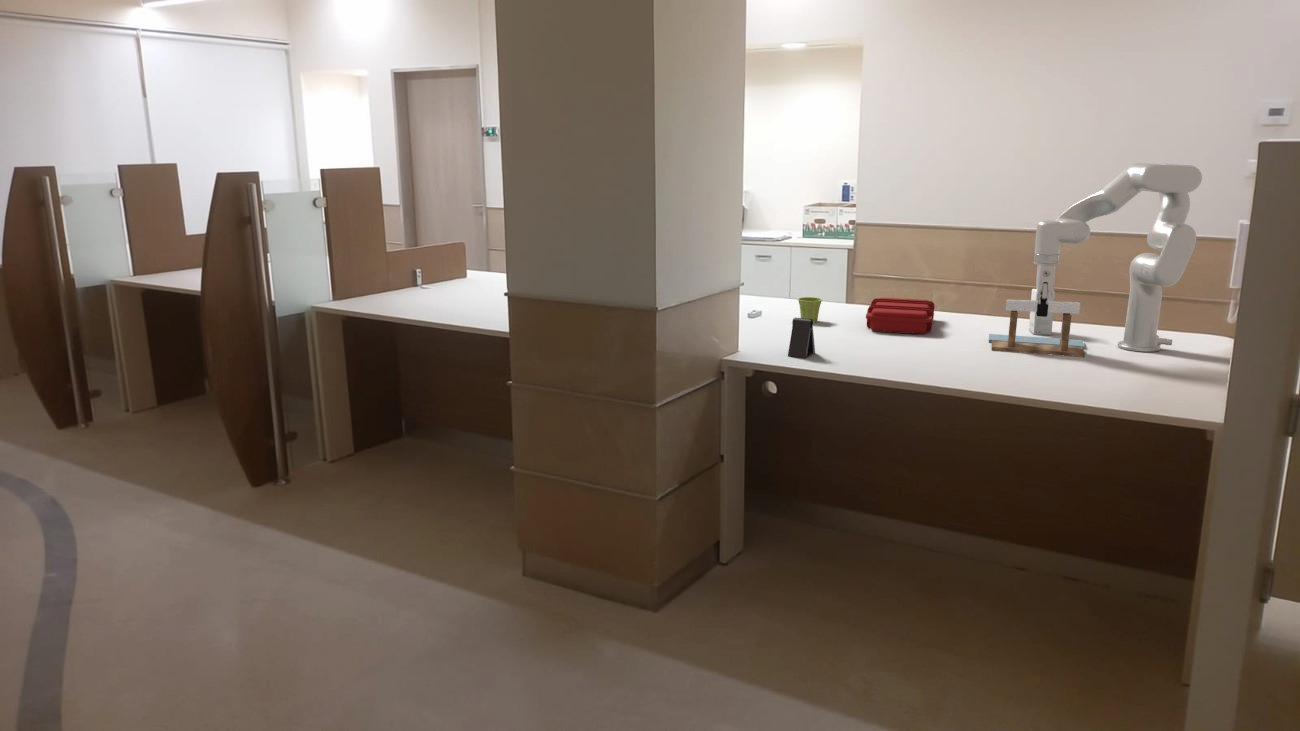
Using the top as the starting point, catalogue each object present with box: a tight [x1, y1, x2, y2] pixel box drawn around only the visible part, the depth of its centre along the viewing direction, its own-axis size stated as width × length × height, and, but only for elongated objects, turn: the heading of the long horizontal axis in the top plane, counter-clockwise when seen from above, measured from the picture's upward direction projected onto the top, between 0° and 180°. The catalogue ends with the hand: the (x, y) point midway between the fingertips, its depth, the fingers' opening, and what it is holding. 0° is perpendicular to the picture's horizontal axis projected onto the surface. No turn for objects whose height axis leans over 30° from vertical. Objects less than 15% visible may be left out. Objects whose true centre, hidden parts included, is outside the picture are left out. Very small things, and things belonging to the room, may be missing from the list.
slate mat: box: [988, 333, 1086, 350], centre depth 308 cm, size 30×10×1 cm, turn 69°
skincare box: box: [1028, 288, 1056, 336], centre depth 322 cm, size 8×7×16 cm
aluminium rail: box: [1005, 298, 1081, 315], centre depth 294 cm, size 22×3×3 cm, turn 69°
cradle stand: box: [991, 311, 1086, 358], centre depth 296 cm, size 28×10×13 cm, turn 69°
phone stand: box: [787, 317, 816, 359], centre depth 291 cm, size 9×6×12 cm, turn 149°
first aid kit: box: [865, 297, 936, 335], centre depth 336 cm, size 32×23×9 cm
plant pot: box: [797, 296, 823, 323], centre depth 344 cm, size 9×9×9 cm
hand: (1041, 314), depth 294 cm, fingers closed on aluminium rail, 3 cm apart
